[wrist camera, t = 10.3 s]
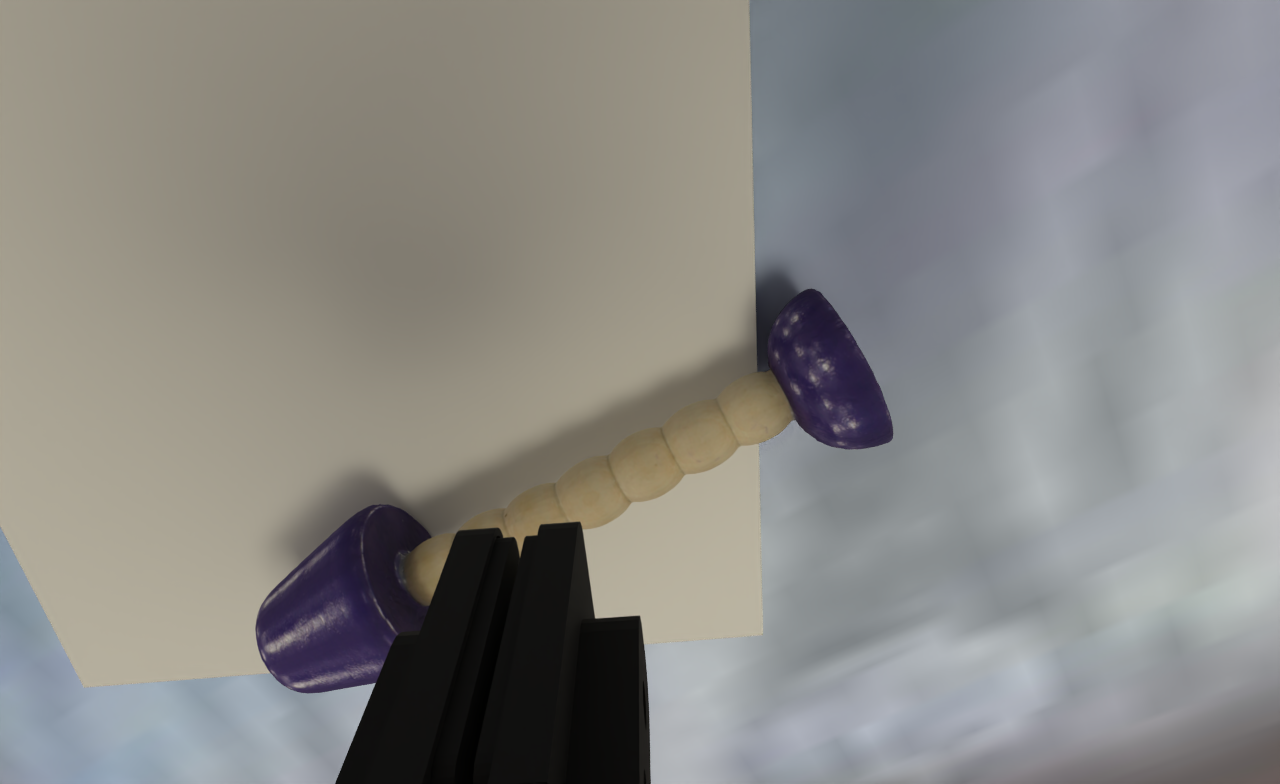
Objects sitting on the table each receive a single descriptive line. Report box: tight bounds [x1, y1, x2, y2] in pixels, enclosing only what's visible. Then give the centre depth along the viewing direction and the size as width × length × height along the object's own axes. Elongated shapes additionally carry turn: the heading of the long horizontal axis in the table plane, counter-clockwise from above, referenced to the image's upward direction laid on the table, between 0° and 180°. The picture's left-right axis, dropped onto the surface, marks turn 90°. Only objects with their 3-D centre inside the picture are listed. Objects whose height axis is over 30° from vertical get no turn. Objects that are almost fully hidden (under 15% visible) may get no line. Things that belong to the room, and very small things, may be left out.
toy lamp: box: [255, 289, 893, 693], centre depth 20 cm, size 5×5×17 cm
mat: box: [0, 0, 763, 687], centre depth 20 cm, size 20×22×1 cm
